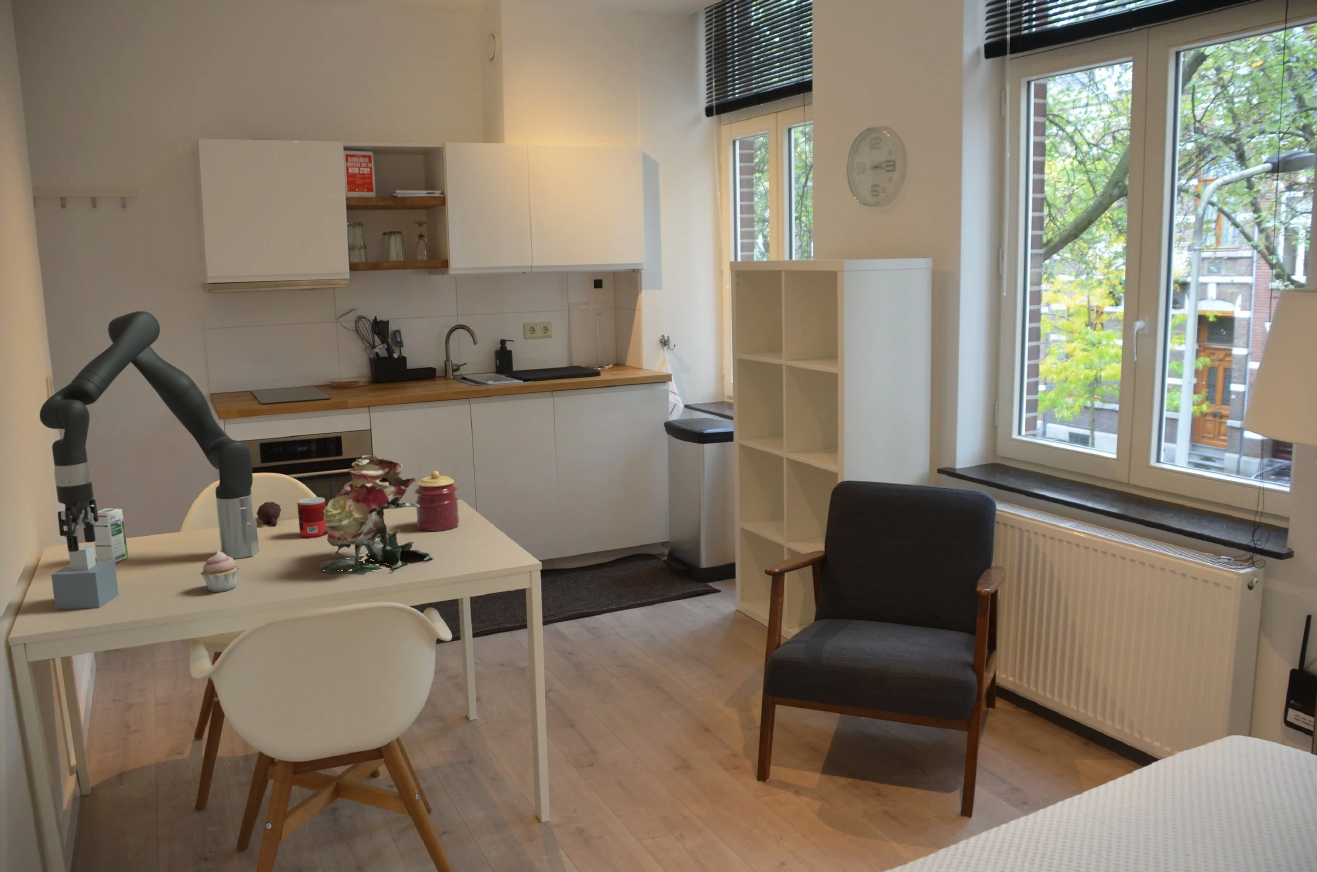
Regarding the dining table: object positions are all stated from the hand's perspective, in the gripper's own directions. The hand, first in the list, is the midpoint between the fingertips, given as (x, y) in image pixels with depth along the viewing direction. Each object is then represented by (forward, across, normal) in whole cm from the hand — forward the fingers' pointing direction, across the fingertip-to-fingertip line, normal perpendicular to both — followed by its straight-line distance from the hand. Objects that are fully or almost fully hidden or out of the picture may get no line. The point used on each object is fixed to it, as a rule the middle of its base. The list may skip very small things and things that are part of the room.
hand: (82, 546), depth 246 cm
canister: (+15, +61, -77) cm, 99 cm away
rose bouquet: (+15, +23, -64) cm, 69 cm away
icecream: (+15, +76, -21) cm, 81 cm away
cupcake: (+15, +6, -30) cm, 34 cm away
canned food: (+15, +57, -40) cm, 71 cm away
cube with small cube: (+14, 0, 0) cm, 14 cm away
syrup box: (+14, +38, +11) cm, 42 cm away
